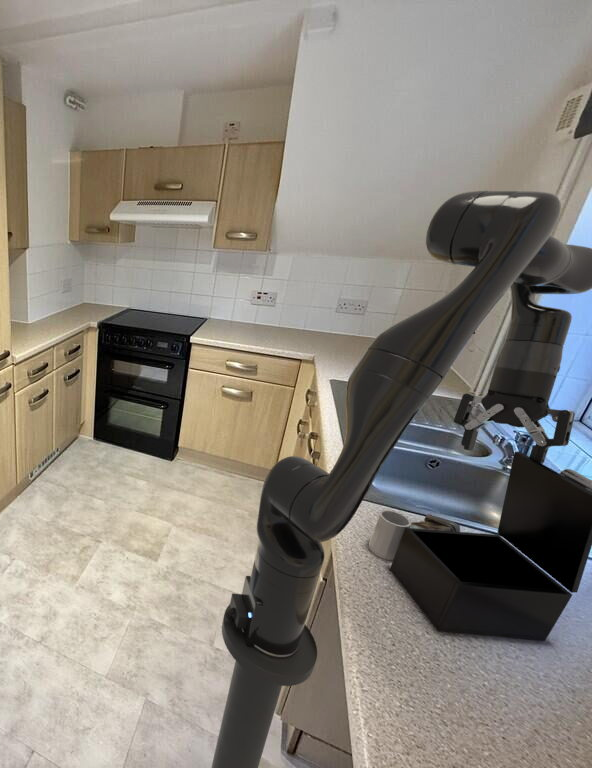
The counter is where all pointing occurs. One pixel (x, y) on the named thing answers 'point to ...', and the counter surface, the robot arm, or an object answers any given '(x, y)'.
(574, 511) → the black box lid
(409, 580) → the black hollow box
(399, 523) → the cup
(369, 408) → the robot arm
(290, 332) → the counter surface
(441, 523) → the checkered cake slice
